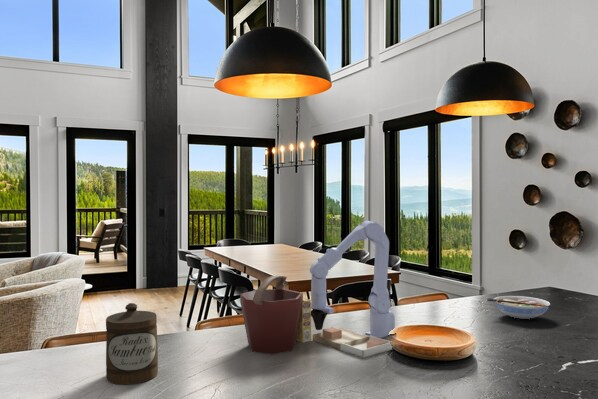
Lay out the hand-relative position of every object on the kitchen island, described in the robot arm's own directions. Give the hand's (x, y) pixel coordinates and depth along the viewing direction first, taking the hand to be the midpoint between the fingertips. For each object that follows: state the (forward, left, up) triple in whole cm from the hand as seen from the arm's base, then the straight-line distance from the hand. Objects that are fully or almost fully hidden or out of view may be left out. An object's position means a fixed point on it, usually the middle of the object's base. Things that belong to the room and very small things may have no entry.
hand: (318, 329), depth 194 cm
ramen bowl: (-88, +33, -3) cm, 94 cm away
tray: (-4, +22, -3) cm, 22 cm away
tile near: (-6, +24, 0) cm, 25 cm away
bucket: (+20, -1, -3) cm, 20 cm away
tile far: (0, +8, -1) cm, 8 cm away
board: (-4, +9, -3) cm, 10 cm away
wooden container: (+70, -4, -3) cm, 70 cm away
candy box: (+7, -2, -3) cm, 8 cm away
